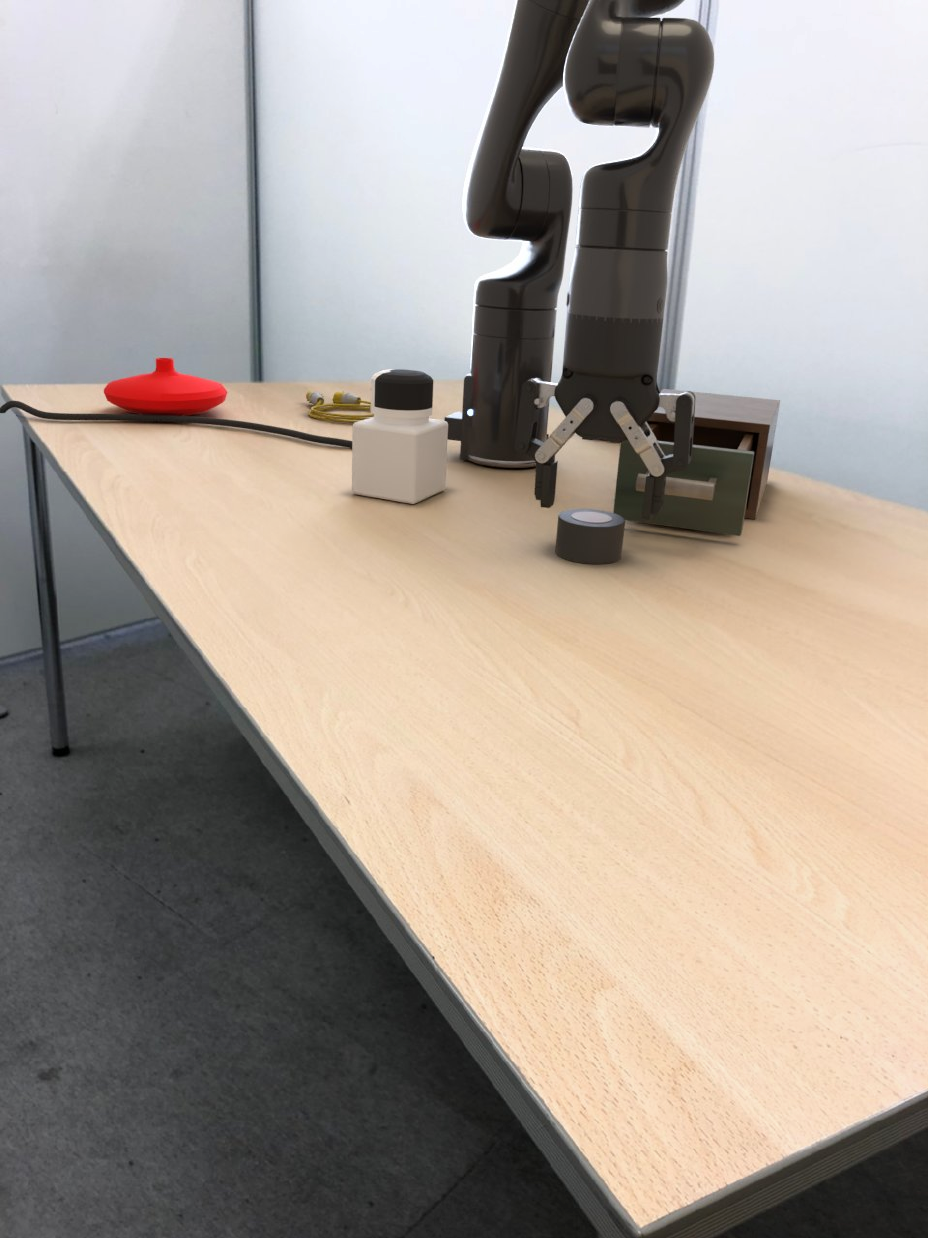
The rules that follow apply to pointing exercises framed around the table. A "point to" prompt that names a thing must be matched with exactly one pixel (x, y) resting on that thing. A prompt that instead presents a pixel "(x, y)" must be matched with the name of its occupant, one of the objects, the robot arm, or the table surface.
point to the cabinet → (738, 417)
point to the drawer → (692, 481)
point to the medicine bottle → (400, 440)
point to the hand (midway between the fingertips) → (596, 512)
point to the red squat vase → (165, 392)
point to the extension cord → (340, 400)
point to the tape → (589, 536)
